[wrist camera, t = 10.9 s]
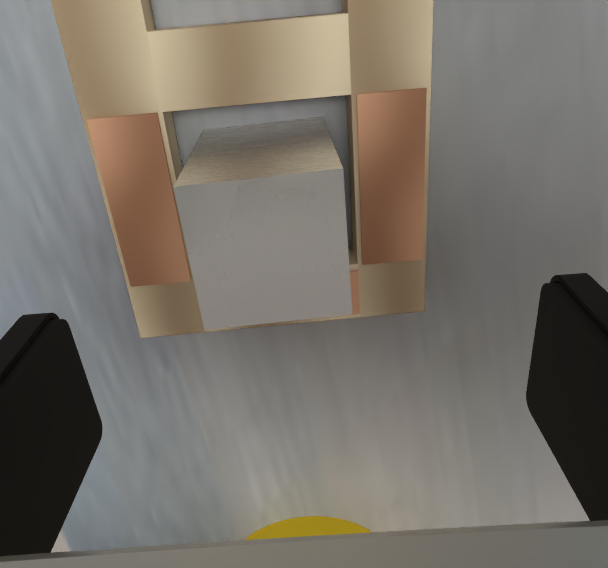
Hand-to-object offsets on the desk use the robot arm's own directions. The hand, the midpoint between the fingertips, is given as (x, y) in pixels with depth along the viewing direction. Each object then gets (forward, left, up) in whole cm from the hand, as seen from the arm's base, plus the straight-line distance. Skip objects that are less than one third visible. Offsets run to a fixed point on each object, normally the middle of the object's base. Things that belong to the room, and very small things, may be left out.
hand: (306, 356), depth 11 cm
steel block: (+1, 0, -12) cm, 12 cm away
